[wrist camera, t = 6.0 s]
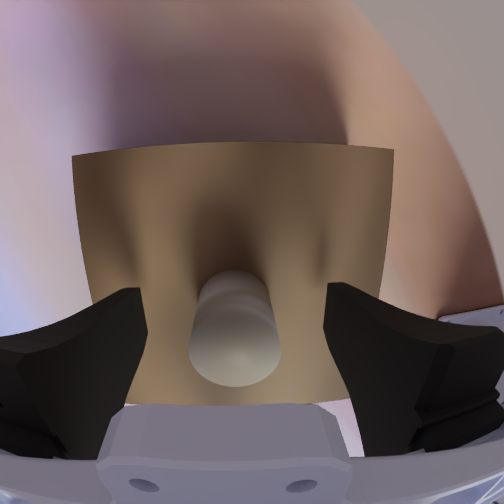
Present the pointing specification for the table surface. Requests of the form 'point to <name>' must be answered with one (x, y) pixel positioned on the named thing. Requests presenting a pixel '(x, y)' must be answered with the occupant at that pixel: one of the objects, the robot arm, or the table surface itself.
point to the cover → (234, 260)
